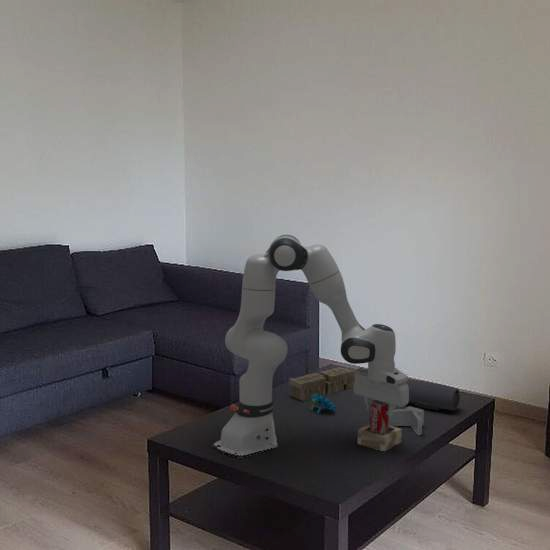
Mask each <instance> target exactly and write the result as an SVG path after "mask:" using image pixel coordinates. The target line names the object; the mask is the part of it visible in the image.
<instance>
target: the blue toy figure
mask: <svg viewBox="0 0 550 550" xmlns="http://www.w3.org/2000/svg"><path fill="white" fill-rule="evenodd" d="M312 398H313V399H311V401H312V406H311V407H310V410H311V411H313V410H314V408H315V407H318V410H317V411H316V414H319V415H320V413H321V411H322V409H323V408H325V409H329V410H330V411H335V410H336V408H337V406H336V405H335V404H334V403H333V402H332V401H330V399H328V398H325V396H319V395H318V394H316V395H315V394H314V395H313V397H312Z"/></svg>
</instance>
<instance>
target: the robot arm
mask: <svg viewBox="0 0 550 550" xmlns="http://www.w3.org/2000/svg"><path fill="white" fill-rule="evenodd" d="M270 243H271V244H270V245H269V247H268V249H267V251H265V253H262V254H261V253H260V254H253V255H251V256H250V257H248V258H247V260H246V262H245V266H244V270H243V276H242V282H241V283H242V284H241V285H242V286H241V299H240V309H239V314H238V317H237V320H236V321H235V323H234V325H233V326H231V327H230V328H229V329H228V331H227V332H226V335H225V338H224V339H225V340H224V342H225V346H226V348H227V350H228V351H229V352H230V353H232V354H234V355H235V356H237V357H239V358H241V359H244V360H247V361H248V366H247V371H246V372H244V373H242V375H241V376H240V377H239V381H238V382H239V383H238V384H239V386H238V388H239V389H238V390H239V392H238V393H239V396H238V397H239V400H238V402H237V404H236V405H235V404H234V403H231V405H230V408H229V409H230V410H231V411H234V412H235V413H234V414H233V415H232V417H230V419H229V420H228V422H227V423H226V424H225V425H224V427H223V428H222V430H221V435H220V440H217V441H216V442H214V443H213V446H214V445H215V446H217V445H220V446H221V447H217V448H218V449H220V450H222V451H225V452H228V453H231V454H235V453H237V454H235V455H239V456H240V455H241V456H243V455H248V454H251V453H255V452H258V451H262V452H264V451H263V450H266V451H268V450H267V449H269V450H271V448H272V449H275V448H277V447H278V446H279V445H278V442H277V441H278V438H277V436H276V429H275V421H274V415H273V412H274V399H273V380H274V375H275V372H276V370H277V368H278V366H280V365H281V364H282V363H283V362H284V361H285V359H286V358H287V356H288V355H287V354H288V345H287V342H286V341H285V339H284V338H282V337H280V335H278V334H276V333H273V332H270V331H266V330H264V325H265V323H266V322H265V321H266V320H267V318H269V317H270V316H271V315H273V313H274V311H275V302H276V282H277V276H278V273H279V272H280V271H281V272H292V271H302V273H303V275H304V277H305V278H306V281H307V283H308V285H309V287H310V289H311V292H312V294H313V295H314V296H315V298H316V300H318V302H320V303H322V304H324V305H325V306H327V307H328V308H329V309H330V310H331V313H332V314H333V316H334V317H335V320H336V322H337V324H338V327H339V328H340V332H341V344H340V355H341V357H342V358H343V359H344V360H345V361H346V362H347V363H349V364H352V365H356V364H357V365H358V364H359V365H360V364H361V365H362V364H367V368H362V367H358V368H357V369H356V370H354V371H355V374H354V387H353V388H352V392H353V393H354V395H357V396H361V397H364V400H363V401H364V402H365V404H366V410H367V411H370V406H371V404H372V400H373V401H374V400H378V401H381V402H385V403H387V404H388V406H389V410H386V415H387V416H392V413H393V410H395V409H396V407H399V408H403V407H406V406H408V404H409V403H410V402H409V388H408V385H407V383H406V381H408V379H409V376H408V374H406V373H404V372H402V371H401V370H399V369H398V368H397V367H396V363H395V356H396V355H395V354H396V349H397V348H396V347H397V344H396V343H397V342H396V339H397V338H396V334H395V331H394V329H393V328H392V327H390V326H388V325H384V324H382V323H380V324H379V323H375V324H372V325H371V326H369V327H367V328H366V329H365V328H364V327H363V326H362V325H361V324H360V323H359V321H358V320H357V318H356V316H355V314H354V312H353V309H352V307H351V305H350V303H349V299H348V297H347V296H348V295H347V292H346V291H347V289H346V286H345V282H344V279H343V276H342V273H341V271H340V269H339V267H338V265H337V262H336V261H335V259H334V257H333V256H332V254H331V253H330V251H329V250H328V248H327V247H326V246H325V245H323V244H312V245H310V246H303V245H302V243H301V242H300V240H299V239H298V238H296V236H293V235H291V234H281V235H280V236H277V237H276V238H275V239H274V240H273V241H272V242H270Z"/></svg>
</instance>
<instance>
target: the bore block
mask: <svg viewBox="0 0 550 550" xmlns="http://www.w3.org/2000/svg"><path fill="white" fill-rule="evenodd" d="M402 429H403V428H402V427H394V426H390V425H389V427H388V433H387V434H385V435H380V434H377V433H373V432H370V423H369V424H367V425H365V426H363V427H361V428H358V429H357V445H361V446H364V447H366V448H369V449H372V448H373V449H372V450H375V449H376V450H375V451H378V450H380V451H379V452H381V451H386V450H387V449H389V448H391V447H393V446H394V445H397V444H398V443H400V442H401V443H402V435H403V430H402ZM401 443H400V444H401ZM398 445H399V444H398ZM398 445H397V446H398ZM393 448H394V447H393ZM391 449H392V448H391ZM389 450H390V449H389ZM386 452H387V451H386Z"/></svg>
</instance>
